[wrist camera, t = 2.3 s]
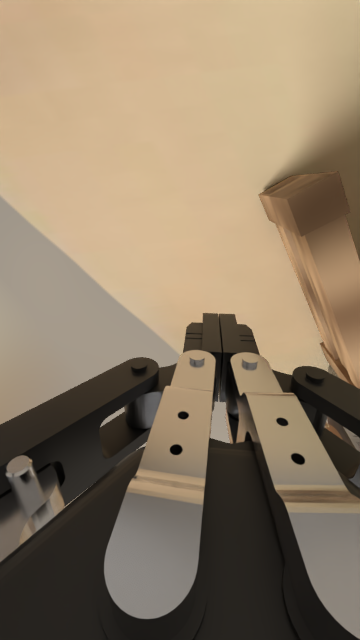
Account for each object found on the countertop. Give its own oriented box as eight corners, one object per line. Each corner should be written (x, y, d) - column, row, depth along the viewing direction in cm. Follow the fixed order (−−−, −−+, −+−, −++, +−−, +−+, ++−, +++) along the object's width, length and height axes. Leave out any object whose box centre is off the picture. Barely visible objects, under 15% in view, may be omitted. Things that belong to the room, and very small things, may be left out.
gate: (353, 349, 25) (409, 410, 18) (326, 360, 26) (371, 422, 19) (290, 176, 19) (338, 171, 13) (258, 194, 20) (286, 199, 13)
